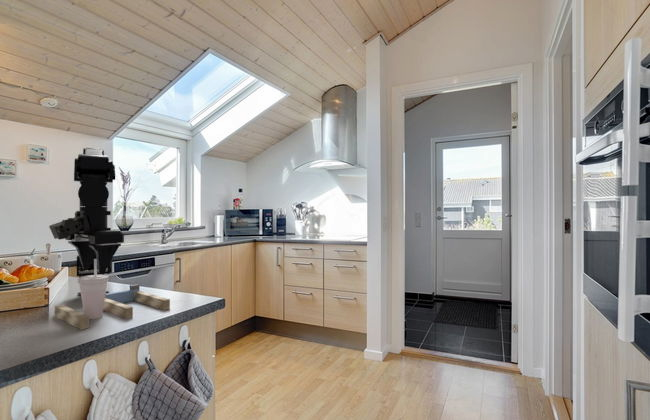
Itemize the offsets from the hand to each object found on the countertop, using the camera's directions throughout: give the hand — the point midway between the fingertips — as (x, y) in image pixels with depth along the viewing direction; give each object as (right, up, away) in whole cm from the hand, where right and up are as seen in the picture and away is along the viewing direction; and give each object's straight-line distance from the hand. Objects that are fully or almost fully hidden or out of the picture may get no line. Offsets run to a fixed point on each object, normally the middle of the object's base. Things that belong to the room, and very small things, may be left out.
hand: (93, 271), depth 88 cm
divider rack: (+3, -11, +4) cm, 12 cm away
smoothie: (0, -11, 0) cm, 11 cm away
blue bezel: (-1, -11, +13) cm, 17 cm away
